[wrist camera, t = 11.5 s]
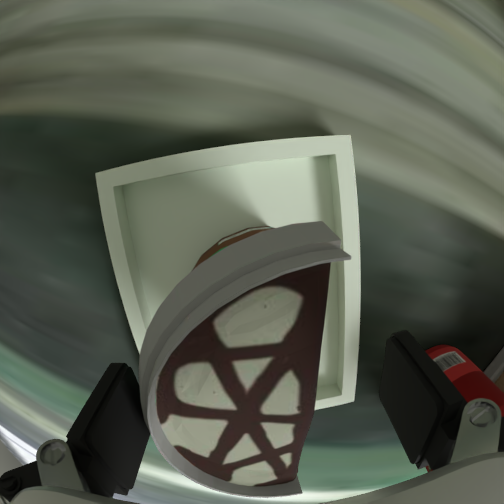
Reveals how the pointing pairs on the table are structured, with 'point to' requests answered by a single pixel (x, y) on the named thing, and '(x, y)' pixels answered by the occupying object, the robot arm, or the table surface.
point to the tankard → (497, 370)
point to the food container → (241, 359)
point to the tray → (237, 228)
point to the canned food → (465, 376)
